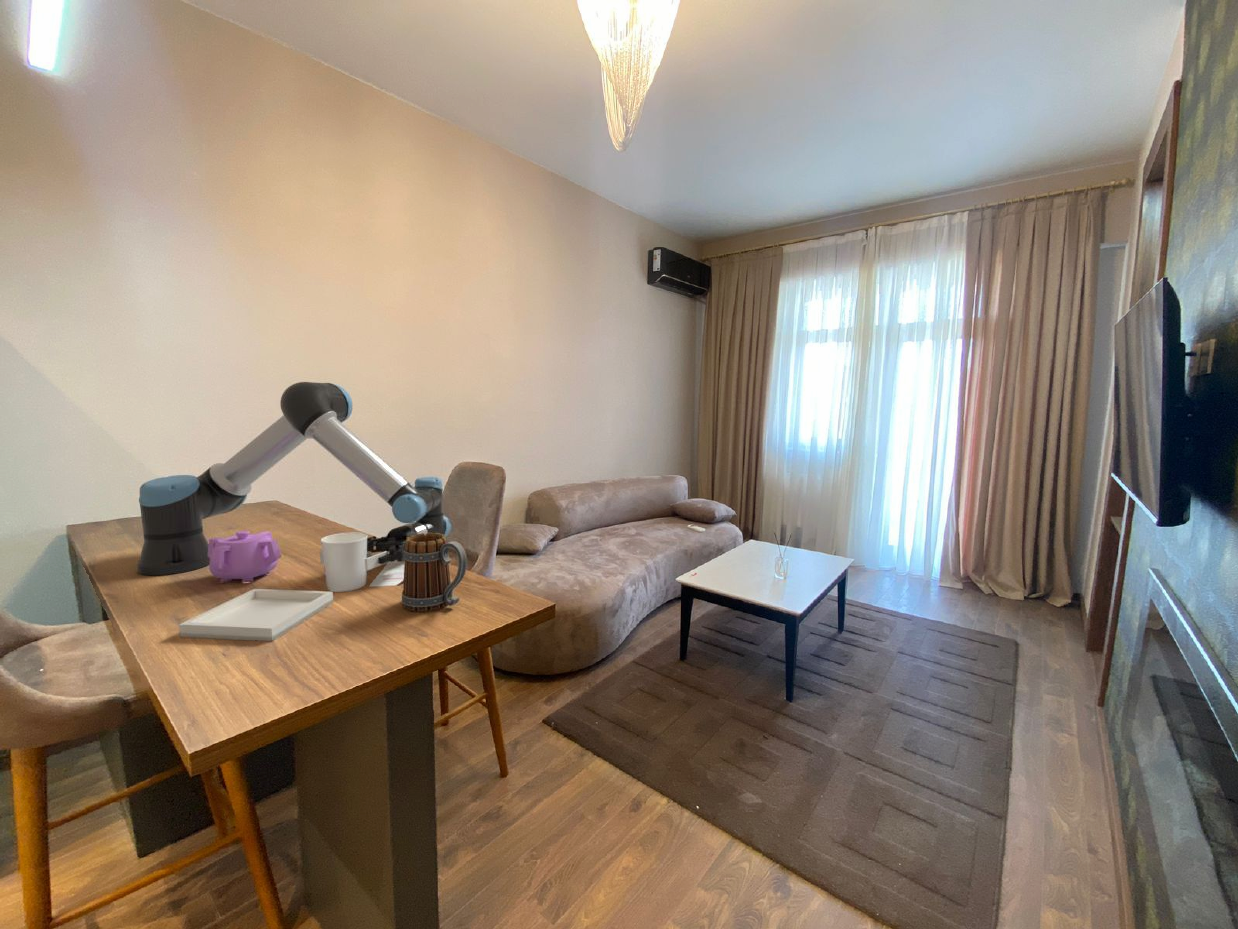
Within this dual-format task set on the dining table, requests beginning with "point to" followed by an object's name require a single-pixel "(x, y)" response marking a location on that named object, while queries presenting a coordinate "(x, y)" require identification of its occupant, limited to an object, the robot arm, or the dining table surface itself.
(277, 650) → the dining table surface
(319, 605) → the tray
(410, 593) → the mug
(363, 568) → the white tapered cylinder
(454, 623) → the dining table surface
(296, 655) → the dining table surface
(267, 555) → the pot
